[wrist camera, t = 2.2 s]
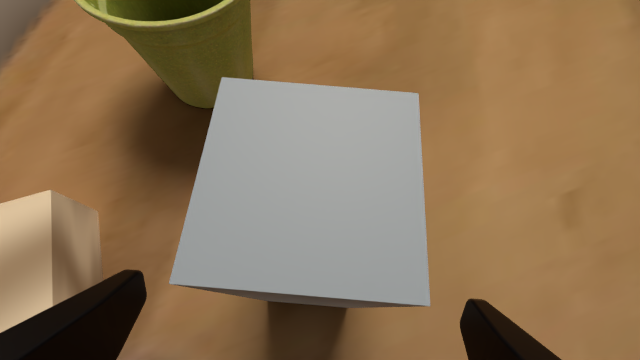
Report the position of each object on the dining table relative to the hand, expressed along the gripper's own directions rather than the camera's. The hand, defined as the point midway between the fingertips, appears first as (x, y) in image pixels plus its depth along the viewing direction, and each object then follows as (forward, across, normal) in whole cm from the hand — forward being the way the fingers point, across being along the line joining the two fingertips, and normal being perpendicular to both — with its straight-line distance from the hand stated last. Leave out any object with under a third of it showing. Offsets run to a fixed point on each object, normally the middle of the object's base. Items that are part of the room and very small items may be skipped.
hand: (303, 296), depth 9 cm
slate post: (+8, 0, +5) cm, 10 cm away
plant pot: (+18, +8, -4) cm, 20 cm away
